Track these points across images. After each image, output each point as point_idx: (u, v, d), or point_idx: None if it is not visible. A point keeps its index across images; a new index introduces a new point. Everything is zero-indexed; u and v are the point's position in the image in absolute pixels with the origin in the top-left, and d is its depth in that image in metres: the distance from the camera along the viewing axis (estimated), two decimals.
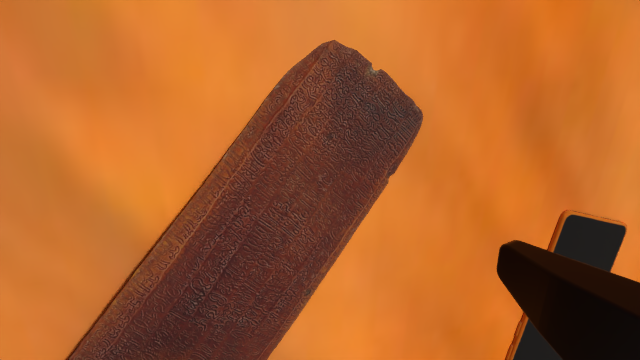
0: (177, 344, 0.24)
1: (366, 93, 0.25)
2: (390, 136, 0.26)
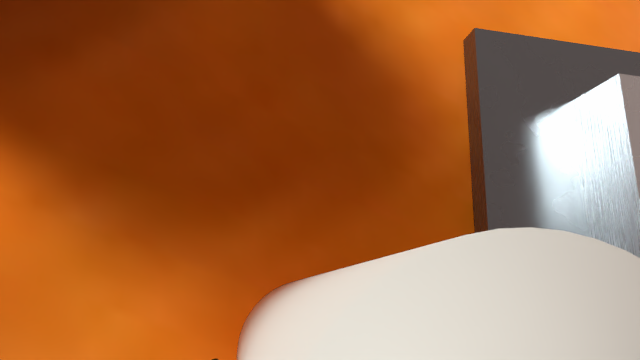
0: None
1: None
2: None
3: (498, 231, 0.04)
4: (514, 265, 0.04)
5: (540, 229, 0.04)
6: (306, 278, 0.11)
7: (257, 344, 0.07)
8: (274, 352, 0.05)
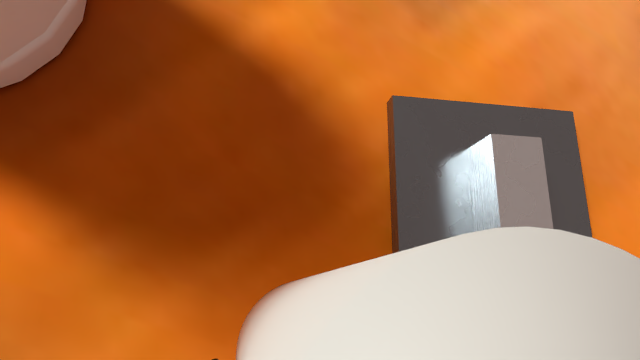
0: None
1: None
2: None
3: (495, 230, 0.04)
4: (511, 264, 0.04)
5: (536, 229, 0.04)
6: (305, 278, 0.11)
7: (255, 344, 0.07)
8: (271, 352, 0.05)
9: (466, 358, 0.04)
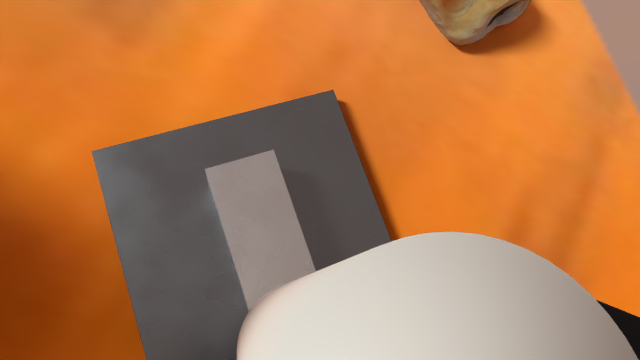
0: None
1: None
2: None
3: (429, 234, 0.05)
4: (439, 259, 0.05)
5: (461, 233, 0.05)
6: None
7: (254, 331, 0.09)
8: (266, 329, 0.06)
9: (403, 326, 0.05)
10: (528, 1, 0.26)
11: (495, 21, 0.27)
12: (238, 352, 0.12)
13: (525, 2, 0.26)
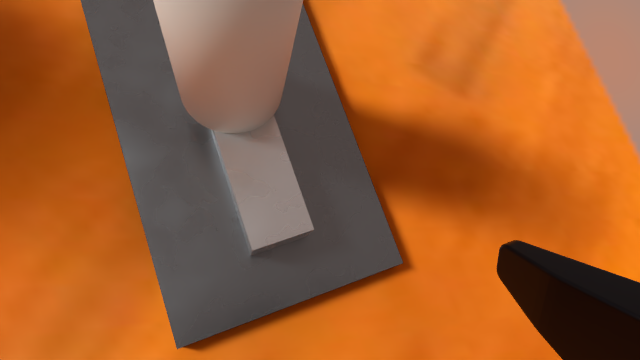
0: None
1: None
2: None
3: None
4: None
5: None
6: None
7: None
8: None
9: None
10: None
11: None
12: None
13: None
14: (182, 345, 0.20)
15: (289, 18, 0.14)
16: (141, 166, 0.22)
